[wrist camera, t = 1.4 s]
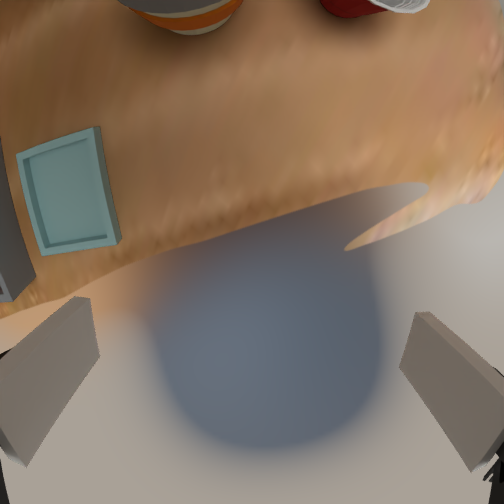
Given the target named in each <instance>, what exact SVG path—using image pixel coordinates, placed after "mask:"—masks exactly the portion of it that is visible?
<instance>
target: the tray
mask: <svg viewBox="0 0 504 504" xmlns="http://www.w3.org/2000/svg"><path fill="white" fill-rule="evenodd" d="M16 158H17V163H18V169H19V174H20V179H21V183H22V188H23V192H24V197H25V201H26V205H27V209H28V212H29V216H30V220H31V223H32V227H33V230H34V233H35V237H36V240H37V243H38V246H39V249H40V252H41V255H42V256H47V255H53V254H60V253H66V252H72V251H79V250H85V249H92V248H98V247H105V246H111V245H117V244H118V243H119V242H120V240H121V239H122V236H121V232H120V228H119V224H118V220H117V216H116V211H115V207H114V203H113V198H112V193H111V188H110V184H109V178H108V173H107V168H106V162H105V157H104V151H103V144H102V138H101V131H100V127H92V128H89V129H85V130H82V131H79V132H76V133H72V134H69V135H66V136H63V137H60V138H57V139H54V140H52V141H49V142H46V143H43V144H41V145H38V146H35V147H33V148H30V149H28V150H25V151H23V152H20V153H18V154H16Z"/></svg>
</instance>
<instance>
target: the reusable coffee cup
mask: <svg viewBox="0 0 504 504" xmlns="http://www.w3.org/2000/svg"><path fill="white" fill-rule="evenodd" d="M118 1H119V2H121V3H122V4H124V5H125V6H127V7H128V8H129V9H131V10H132V11H134V12H135V13H136V14H138V15H140V16H141V17H143V18H145V19H146V20H148V21H150V22H151V23H153V24H155V25H157V26H160V27H162V28H166V29H169V30H171V31H173V32H175V33H179V34H183V35H199V34H203V33H207V32H210V31H212V30H215V29H216V28H218V27H220V26H221V25H222V24H224V23H225V22H226V21H227V20H228V19H229V18H230V16H231V15H232V13H233V12H234V11H235V10H236V9H237V8H238V7H239V6H240V5H241V3H242V2H243V0H118Z"/></svg>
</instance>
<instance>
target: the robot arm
mask: <svg viewBox="0 0 504 504" xmlns="http://www.w3.org/2000/svg"><path fill="white" fill-rule="evenodd" d="M99 357H100V354H99V349H98V344H97V339H96V334H95V328H94V322H93V316H92V309H91V302H90V298H84V297H76V296H74V297H73V298H72V299H70V300H69V301H68V302H67V303H65V304H64V305H63V306H62V307H61V308H59V309H58V310H57V311H56V312H54V313H53V314H52V315H51V316H50V317H48V318H47V319H46V320H45V321H44V322H42V323H41V324H40V325H39V326H38V327H36V328H35V329H34V330H33V331H32V332H31V333H29V334H28V335H27V336H26V337H25V338H24V339H23V340H21V341H20V342H19V343H18V344H17V345H16V346H15V347H13V348H12V349H9V350H7V351H5V352H3V353H1V354H0V446H1V448H2V449H3V451H4V452H5V454H6V455H7V457H8V458H9V459H10V460H12V461H14V462H16V463H18V464H20V465H22V466H24V467H27V466H28V464H29V463H30V461H31V459H32V458H33V456H34V454H35V453H36V451H37V450H38V448H39V446H40V445H41V443H42V442H43V440H44V438H45V437H46V435H47V434H48V432H49V431H50V429H51V427H52V426H53V424H54V423H55V421H56V420H57V418H58V417H59V415H60V414H61V412H62V411H63V409H64V408H65V406H66V405H67V403H68V402H69V400H70V399H71V397H72V396H73V394H74V393H75V391H76V390H77V389H78V387H79V385H80V384H81V383H82V381H83V380H84V378H85V377H86V376H87V374H88V373H89V371H90V370H91V368H92V367H93V366H94V364H95V363H96V361H97V360H98V358H99ZM399 368H400V369H401V371H402V372H403V373H404V375H405V376H406V378H407V379H408V380H409V382H410V383H411V384H412V386H413V387H414V389H415V390H416V392H417V393H418V394H419V396H420V397H421V398H422V400H423V401H424V403H425V404H426V406H427V407H428V409H429V410H430V412H431V413H432V414H433V416H434V417H435V419H436V420H437V422H438V423H439V425H440V426H441V428H442V429H443V431H444V432H445V434H446V435H447V437H448V438H449V439H450V441H451V443H452V444H453V446H454V447H455V449H456V450H457V452H458V453H459V455H460V456H461V458H462V459H463V461H464V463H465V464H466V466H467V467H468V469H469V470H470V472H474V471H476V470H478V469H480V468H482V467H484V466H486V465H487V464H488V462H489V461H490V460H491V459H492V457H493V456H494V454H495V453H496V454H497V455H498V456H499V459H498V460H497V461H496V462H495V464H494V465H493V466H492V468H491V469H490V470H489V471H488V472H487V474H486V475H485V476H484V478H483V480H484V481H485V480H486V479H487V478H488V477H489V476H490V475H491V474H492V473H493V476H492V477H491V479H490V480H489V482H492V487H491V493H490V498H489V504H504V376H503V375H502V374H501V373H500V372H499V371H498V370H497V369H496V368H494V367H492V366H491V365H490V364H488V362H486V361H485V360H484V359H483V358H482V357H481V356H480V355H479V354H477V352H475V351H474V350H473V349H472V348H471V347H470V346H469V345H468V344H466V343H465V342H464V341H463V340H462V339H461V338H460V337H458V336H457V335H456V334H455V333H454V332H453V331H451V330H450V329H449V328H448V327H447V326H446V325H444V324H443V323H442V322H441V321H440V320H439V319H437V318H436V317H435V316H434V315H433V314H431V313H430V312H416V313H415V315H414V319H413V323H412V327H411V330H410V334H409V337H408V340H407V344H406V347H405V350H404V353H403V356H402V360H401V363H400V366H399ZM0 504H10V503H9V499H8V495H7V491H6V487H5V482H4V477H3V472H2V466H1V461H0Z"/></svg>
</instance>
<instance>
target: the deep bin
mask: <svg viewBox="0 0 504 504" xmlns="http://www.w3.org/2000/svg"><path fill="white" fill-rule="evenodd" d="M35 277H36V274H35V272H34V269H33V266H32V264H31V261H30V258H29V255H28V252H27V249H26V246H25V243H24V240H23V237H22V234H21V231H20V227H19V224H18V220H17V217H16V213H15V209H14V205H13V201H12V197H11V193H10V189H9V184H8V180H7V175H6V169H5V164H4V158H3V152H2V145H1V138H0V302H13V301H14V300H15V299H16V298H17V297H18V296H19V294H20V293H21V292H22V291H23V290H24V289H25V288H26V287H27V286H28V285H29V284H30V283H31V281H32V280H33V279H34V278H35Z"/></svg>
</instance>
